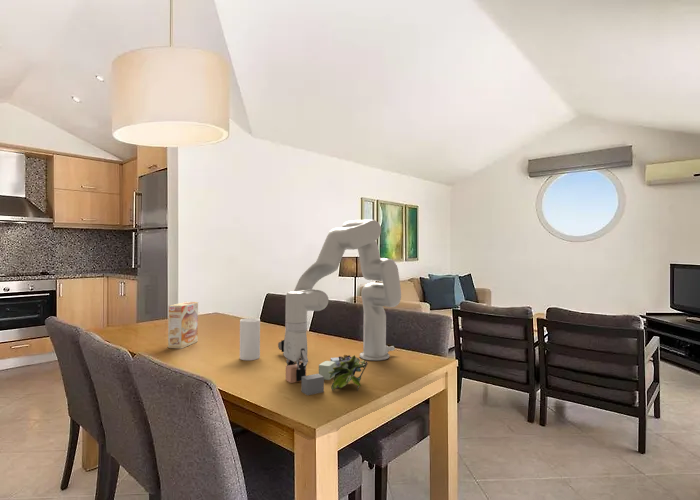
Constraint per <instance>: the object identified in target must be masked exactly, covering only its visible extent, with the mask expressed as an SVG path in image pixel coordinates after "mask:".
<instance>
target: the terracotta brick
mask: <svg viewBox="0 0 700 500" xmlns="http://www.w3.org/2000/svg"><path fill="white" fill-rule="evenodd" d="M301 363H302V362H299V364H301ZM296 369H297V363H296V364H294V365H288V366H287V365H285V381H287V382H288V383H289V384H291V383H293V384H294V383H298V382H299V381H296ZM305 376H307V368H306V369H305Z"/></svg>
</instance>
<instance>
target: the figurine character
mask: <svg viewBox="0 0 700 500" xmlns="http://www.w3.org/2000/svg"><path fill="white" fill-rule="evenodd" d="M277 348H278V350H280V351H281V353H282V355H284V339H283V340H281V341H279V342H278V343H277ZM299 360H301V359H300V358H299Z"/></svg>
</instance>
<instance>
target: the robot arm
mask: <svg viewBox="0 0 700 500" xmlns="http://www.w3.org/2000/svg"><path fill="white" fill-rule="evenodd" d="M327 233H328V234H327V235H326V238H325V239H324V243H323V245H322V247H321V250H320V252H319V254H318V256H317V258H316V260H315V262H314V263H312V264H311V265H310V266H309V267H308V268H307V269H306V270H305V271H304V272H302V275H301V276H300V277H299V279H298V280H297V283H296V285H295V288H294V290H291V291H288V292H286V294H285V327H284V328H285V329H284V330H285V332H284V337H283V338H284V339H283V340H284V352H283V353H284V354H283V356H284V357H285V359H286V362H285V363H286V366H288V365H294V364H297V369H296V381H298V382H302V376H305V369H306V370H307V365H308V363H309V358H308V338H307V335H308V334H307V331H308V311H309V312H311V311H312V312H320V311H322V310H325V308H326V307H327V306H328V304H329V297H328V294H327V293H326V292H325V291H323V290H320V289H313V288H314V287H315V285H316V284H317V283H318V282H319V281H320V280H322V279H323V278H325V277H327V276H329V275H331V274H333V273H335V272H336V271H337V270H339V269H338V268H339V266H340V263H341V261H342V258H343V257H344V254H345V253H346V250H357V252H358V258H359V263H360V270H361V274H362V277H363V279H365V280H367V281H371V282H369V283H366V284H365V285H363V287H362V289H361V300H362V301H361V302H362V308H363V340H362V341H363V345H362V346H363V347H362V349H363V351H362V352H360V353H359V359H360V358H361V359H362V360H365V361H377V362H378V361H386V360H387V359H389V358H390V353H389V352H393V351H395V350H396V349H395V346H394V345H391V346H388V345H387V314H386V310H385V308H384V307H387V308H395V307H397V306H398V305H399V304H400V303H401V299H402V288H401V281H400V273H399V267H398V265H397V263H396V262H395V261H394V260H393V259H391V258H386V257H384V258H383V257H381V255H380V250H379V246H378V242H377V240H378V239H379V237H380V236H381V233H382V227H381V225H380V223H379V222H378V221H377V220H375V219H355V220H354V219H353V220H347V221H345V222H343V224H342V226H341V227H334V228H332V229H330V230H329V231H328V232H327ZM373 281H375V282H373ZM299 358H300V359H299ZM300 363H301V364H300Z"/></svg>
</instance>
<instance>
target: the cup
mask: <svg viewBox="0 0 700 500" xmlns="http://www.w3.org/2000/svg"><path fill="white" fill-rule="evenodd" d="M260 357H261V319H260V318H258V317H256V318H255V317H248V318H247V317H246V318H241V319H239V359H240V361H241V360H243V361H256V360H258V359H260Z"/></svg>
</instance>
